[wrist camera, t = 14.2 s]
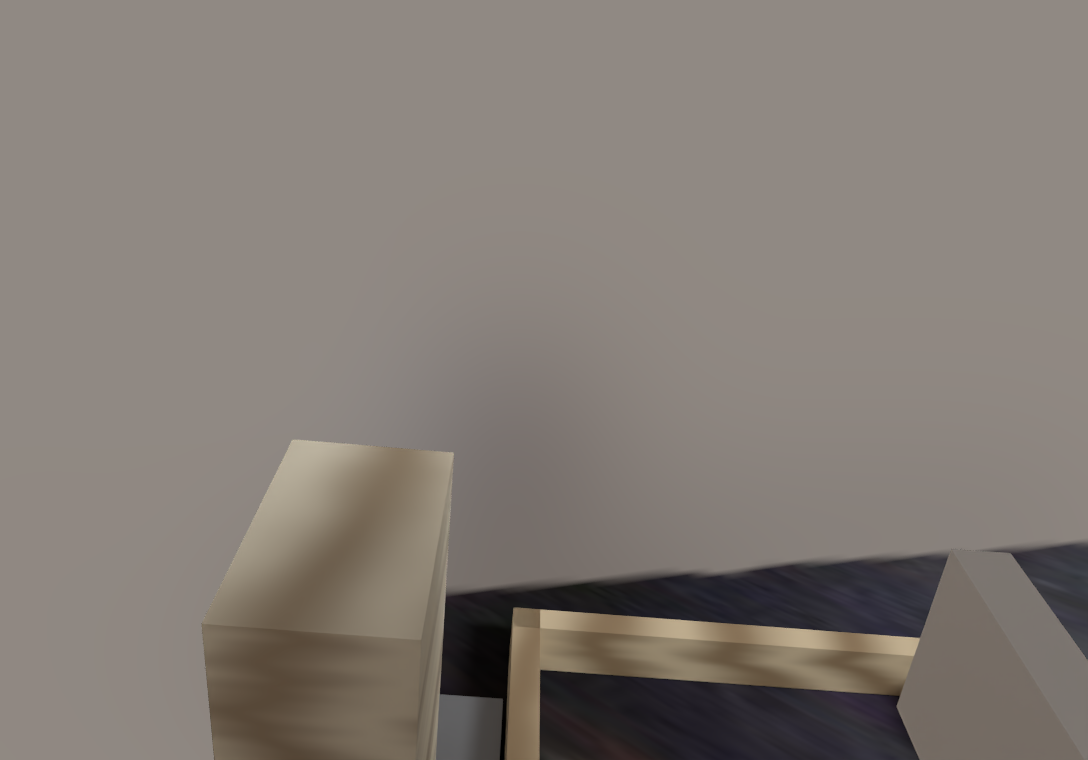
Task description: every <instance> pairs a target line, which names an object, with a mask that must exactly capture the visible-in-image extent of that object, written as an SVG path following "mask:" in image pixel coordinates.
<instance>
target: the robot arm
mask: <svg viewBox="0 0 1088 760" xmlns="http://www.w3.org/2000/svg"><path fill="white" fill-rule="evenodd" d="M896 707H897V709H898V711H899V714H900V716H901V718H902V720H903V723H904V725H905V727H906V730H907V732H908V734H909V737H910V739H911V741H912V743H913V746H914V748H915V750H916V753H917V755H918V757H919V759H920V760H1088V660H1087V659H1086V657H1085V656H1084V655H1083V653H1082V652H1081V650H1080V649H1079V648H1078V646H1077V645H1076V644H1075V642H1074V641H1073V639H1072V638H1071V637H1070V635H1069V634H1068V632H1067V631H1066V630H1065V628H1064V627H1063V625H1062V624H1061V623H1060V621H1059V620H1058V619H1057V617H1056V616H1055V614H1054V613H1053V612H1052V610H1051V609H1050V607H1049V606H1048V605H1047V603H1046V602H1045V601H1044V599H1043V598H1042V596H1041V595H1040V594H1039V592H1038V591H1037V589H1036V588H1035V587H1034V585H1033V584H1032V582H1031V581H1030V580H1029V578H1028V577H1027V576H1026V574H1025V573H1024V571H1023V570H1022V569H1021V567H1020V566H1019V564H1018V563H1017V562H1016V560H1015V559H1014V558H1013V556H1012V555H1011V553H1000V552H986V551H971V550H957V549H951V551H950V554H949V557H948V560H947V563H946V566H945V569H944V571H943V574H942V577H941V580H940V583H939V586H938V589H937V592H936V594H935V597H934V600H933V603H932V606H931V609H930V612H929V614H928V617H927V620H926V623H925V626H924V629H923V632H922V635H921V637H920V640H919V643H918V646H917V649H916V652H915V655H914V658H913V660H912V663H911V666H910V669H909V672H908V675H907V678H906V680H905V683H904V686H903V689H902V692H901V695H900V698H899V701H898V703H897V706H896Z"/></svg>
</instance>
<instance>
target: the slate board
mask: <svg viewBox="0 0 1088 760" xmlns="http://www.w3.org/2000/svg"><path fill="white" fill-rule="evenodd" d="M502 709H503V699H498V698H484V697H470V696H456V695H442V694H440V695H439V712H438V729H437V746H436V760H500V745H501V727H502Z"/></svg>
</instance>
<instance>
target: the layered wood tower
mask: <svg viewBox="0 0 1088 760" xmlns="http://www.w3.org/2000/svg"><path fill="white" fill-rule="evenodd" d="M453 457H454V453H451V452H437V451H426V450H415V449H402V448H390V447H378V446H365V445H354V444H341V443H328V442H316V441H305V440H292V442H291V444H290V446H289V448H288V450H287V452H286V454H285V456H284V458H283V460H282V462H281V464H280V466H279V468H278V470H277V472H276V474H275V476H274V478H273V480H272V482H271V484H270V486H269V488H268V491H267V492H266V494H265V496H264V498H263V500H262V502H261V505H260V507H259V509H258V511H257V513H256V515H255V517H254V519H253V521H252V523H251V525H250V527H249V529H248V531H247V533H246V535H245V537H244V539H243V541H242V543H241V545H240V548H239V549H238V551H237V553H236V555H235V557H234V559H233V562H232V563H231V565H230V567H229V569H228V572H227V573H226V575H225V578H224V580H223V582H222V584H221V586H220V588H219V590H218V592H217V594H216V596H215V598H214V600H213V602H212V604H211V606H210V608H209V610H208V612H207V614H206V616H205V618H204V620H203V622H202V634H203V644H204V655H205V665H206V676H207V687H208V697H209V708H210V719H211V729H212V740H213V751H214V760H436V746H437V729H438V712H439V695H440V678H441V661H442V644H443V627H444V611H445V594H446V576H447V559H448V543H449V526H450V525H449V524H450V509H451V492H452V475H453Z"/></svg>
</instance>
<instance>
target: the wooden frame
mask: <svg viewBox="0 0 1088 760" xmlns="http://www.w3.org/2000/svg"><path fill="white" fill-rule="evenodd" d="M919 640H920V638H911V637H898V636H884V635H871V634H858V633H845V632H831V631H818V630H805V629H791V628H778V627H765V626H752V625H738V624H725V623H712V622H698V621H685V620H672V619H659V618H645V617H632V616H619V615H605V614H592V613H579V612H566V611H552V610H539V609H526V608H514V609H513V619H512V628H511V638H510V648H509V667H508V688H507V708H506V728H505V748H504V760H539V723H540V670H551V671H565V672H579V673H592V674H606V675H620V676H634V677H647V678H661V679H675V680H689V681H703V682H716V683H730V684H744V685H758V686H771V687H785V688H799V689H813V690H827V691H840V692H854V693H868V694H882V695H895V696H900V695H901V692H902V689H903V686H904V683H905V680H906V678H907V675H908V672H909V669H910V666H911V663H912V660H913V658H914V655H915V652H916V649H917V646H918V643H919Z"/></svg>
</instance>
